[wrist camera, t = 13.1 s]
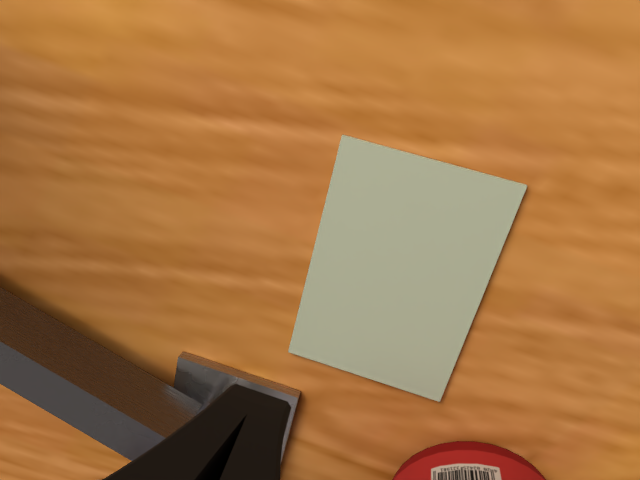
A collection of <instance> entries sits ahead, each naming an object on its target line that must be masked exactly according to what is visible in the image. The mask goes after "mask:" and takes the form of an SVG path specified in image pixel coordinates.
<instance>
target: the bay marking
mask: <svg viewBox="0 0 640 480" xmlns="http://www.w3.org/2000/svg"><path fill="white" fill-rule="evenodd" d="M526 188H527V185H526V184H522V183H519V182H515V181H511V180H508V179H504V178H500V177H497V176H493V175H489V174H486V173H482V172H478V171H475V170H471V169H467V168H464V167H460V166H456V165H453V164H449V163H445V162H442V161H438V160H434V159H431V158H427V157H423V156H420V155H416V154H412V153H409V152H405V151H401V150H398V149H394V148H390V147H387V146H383V145H379V144H376V143H372V142H368V141H365V140H361V139H357V138H354V137H350V136H346V135H342V137H341V141H340V145H339V149H338V153H337V157H336V161H335V165H334V170H333V174H332V178H331V182H330V186H329V190H328V194H327V198H326V202H325V206H324V210H323V214H322V218H321V222H320V226H319V230H318V234H317V238H316V242H315V246H314V250H313V254H312V258H311V262H310V266H309V270H308V274H307V278H306V282H305V286H304V290H303V294H302V298H301V302H300V306H299V310H298V315H297V319H296V323H295V327H294V331H293V335H292V339H291V343H290V347H289V351H288V352H290V353H293V354H296V355H299V356H302V357H305V358H308V359H311V360H314V361H317V362H320V363H323V364H326V365H329V366H332V367H335V368H338V369H341V370H344V371H347V372H350V373H353V374H356V375H359V376H362V377H365V378H368V379H371V380H374V381H378V382H381V383H384V384H387V385H390V386H393V387H396V388H399V389H402V390H405V391H408V392H411V393H414V394H417V395H420V396H423V397H426V398H429V399H432V400H435V401H438V402H440V400H441V398H442V395H443V393H444V390H445V388H446V385H447V383H448V380H449V378H450V375H451V373H452V371H453V368H454V366H455V363H456V361H457V358H458V356H459V353H460V351H461V348H462V346H463V343H464V341H465V338H466V336H467V334H468V331H469V329H470V326H471V324H472V321H473V319H474V316H475V314H476V311H477V309H478V306H479V304H480V301H481V299H482V297H483V294H484V292H485V289H486V287H487V284H488V282H489V279H490V277H491V274H492V272H493V269H494V267H495V264H496V262H497V260H498V257H499V255H500V252H501V250H502V247H503V245H504V242H505V240H506V237H507V235H508V232H509V230H510V227H511V225H512V223H513V220H514V218H515V215H516V213H517V210H518V208H519V205H520V203H521V200H522V198H523V195H524V193H525V191H526Z"/></svg>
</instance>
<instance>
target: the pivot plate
mask: <svg viewBox="0 0 640 480" xmlns="http://www.w3.org/2000/svg"><path fill="white" fill-rule="evenodd" d="M234 384H238V385H241V386H244V387H247V388H250V389H253V390H256V391H258V392H261V393H264V394H267V395H270V396H273V397H276V398H279V399H282V400H285V401H288V403H289V404H290V406H291V411H290V415H289V419H288V423H287V426H286V430H285V434H284V438H283V445H282V453H281V463H282V459H283V456H284V452H285V448H286V444H287V441H288V437H289V433H290V430H291V426H292V422H293V418H294V415H295V411H296V407H297V404H298V400H299V396H300V392H301V391H298V390H296V389H293V388H290V387H287V386H284V385H281V384H278V383H275V382H272V381H269V380H266V379H263V378H260V377H257V376H254V375H251V374H248V373H245V372H242V371H239V370H236V369H234V368H231V367H228V366H225V365H222V364H219V363H216V362H213V361H210V360H207V359H204V358H201V357H198V356H195V355H192V354H189V353H186V352H182V353H181V354H180V356H179V357H178V362H177V368H176V375H175V382H174V388H175V389H176V390H178V391H180V392H182V393H183V394H185V395H187V396H188V397H190V398H192V399H194V400H195V401H197V402H199V403H201V404H202V407H201V409H200V410H199V412H201V411H202V410H203V409H204V408H206V407H207V406H208V405H209V404H210V403H212V402H213V401H214V400H215V399H216V398H217V397H219V396H220V395H221V394H222V393H223V392H224V391H225V390H226V389H227V388H229V387H230V386H232V385H234ZM199 412H198V413H199Z"/></svg>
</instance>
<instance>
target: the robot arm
mask: <svg viewBox="0 0 640 480" xmlns="http://www.w3.org/2000/svg"><path fill="white" fill-rule="evenodd" d="M290 411H291V406H290V404H289V403H288V401H285V400H282V399H279V398H276V397H273V396H270V395H267V394H264V393H261V392H258V391H256V390H253V389H250V388H247V387H244V386H241V385H238V384H234V385H232V386H230V387H229V388H227V389H226V390H225V391H224V392H223V393H222V394H221V395H220V396H219V397H217V398H216V399H215V400H214V401H213V402H212V403H210V404H209V405H208V406H207V407H206V408H204V409H203V410H202V411H201V412H199V413H198V414H197V415H196V416H194V417H193V418H192V419H191V420H189V421H188V422H187V423H185V424H184V425H183V426H181V427H180V428H179V429H177V430H176V431H175V432H173V433H172V434H171V435H169V436H168V437H167V438H165V439H164V440H163V441H161V442H160V443H158V444H157V445H156V446H154V447H153V448H151V449H150V450H148V451H147V452H145V453H144V454H142V455H141V456H139V457H138V458H136V459H135V460H133V461H132V462H130V463H129V464H127V465H126V466H124V467H122V468H121V469H119V470H118V471H116V472H114V473H113V474H111V475H110V476H108V477H106V478H105V479H103V480H280V467H281V453H282V445H283V438H284V434H285V430H286V426H287V423H288V419H289V415H290Z"/></svg>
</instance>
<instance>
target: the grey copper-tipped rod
mask: <svg viewBox="0 0 640 480" xmlns="http://www.w3.org/2000/svg"><path fill="white" fill-rule="evenodd" d="M0 384H2V385H3V386H5V387H7V388H8V389H10V390H12V391H14V392H15V393H17V394H19V395H20V396H22V397H24V398H26V399H27V400H29V401H31V402H32V403H34V404H36V405H37V406H39V407H41V408H43V409H44V410H46V411H48V412H49V413H51V414H53V415H55V416H56V417H58V418H60V419H61V420H63V421H65V422H66V423H68V424H70V425H72V426H73V427H75V428H77V429H78V430H80V431H82V432H84V433H85V434H87V435H89V436H90V437H92V438H94V439H95V440H97V441H99V442H101V443H102V444H104V445H106V446H107V447H109V448H111V449H113V450H114V451H116V452H118V453H119V454H121V455H123V456H124V457H126V458H128V459H130V460H131V461H133V460H135V459H136V458H138V457H139V456H141V455H142V454H144V453H145V452H147V451H148V450H150V449H151V448H153V447H154V446H156V445H157V444H158V443H160V442H161V441H163V440H164V439H165V438H167V437H168V436H169V435H171V434H172V433H173V432H175V431H176V430H177V429H179V428H180V427H181V426H183V425H184V424H185V423H187V422H188V421H189V420H191V419H192V418H193V417H194V416H196V415H197V414H198V412H199V410H200V409H201V407H202V404H201V403H199V402H197V401H195V400H194V399H192V398H190V397H188V396H187V395H185V394H183V393H182V392H180V391H178V390H176V389H175V388H173V387H171V386H170V385H168V384H166V383H164V382H163V381H161V380H159V379H158V378H156V377H154V376H152V375H151V374H149V373H147V372H145V371H144V370H142V369H140V368H139V367H137V366H135V365H133V364H132V363H130V362H128V361H127V360H125V359H123V358H121V357H120V356H118V355H116V354H114V353H113V352H111V351H109V350H108V349H106V348H104V347H102V346H101V345H99V344H97V343H96V342H94V341H92V340H90V339H89V338H87V337H85V336H83V335H82V334H80V333H78V332H77V331H75V330H73V329H71V328H70V327H68V326H66V325H65V324H63V323H61V322H59V321H58V320H56V319H54V318H52V317H51V316H49V315H47V314H46V313H44V312H42V311H40V310H39V309H37V308H35V307H34V306H32V305H30V304H28V303H27V302H25V301H23V300H22V299H20V298H18V297H16V296H15V295H13V294H11V293H9V292H8V291H6V290H4V289H3V288H1V287H0Z"/></svg>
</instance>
